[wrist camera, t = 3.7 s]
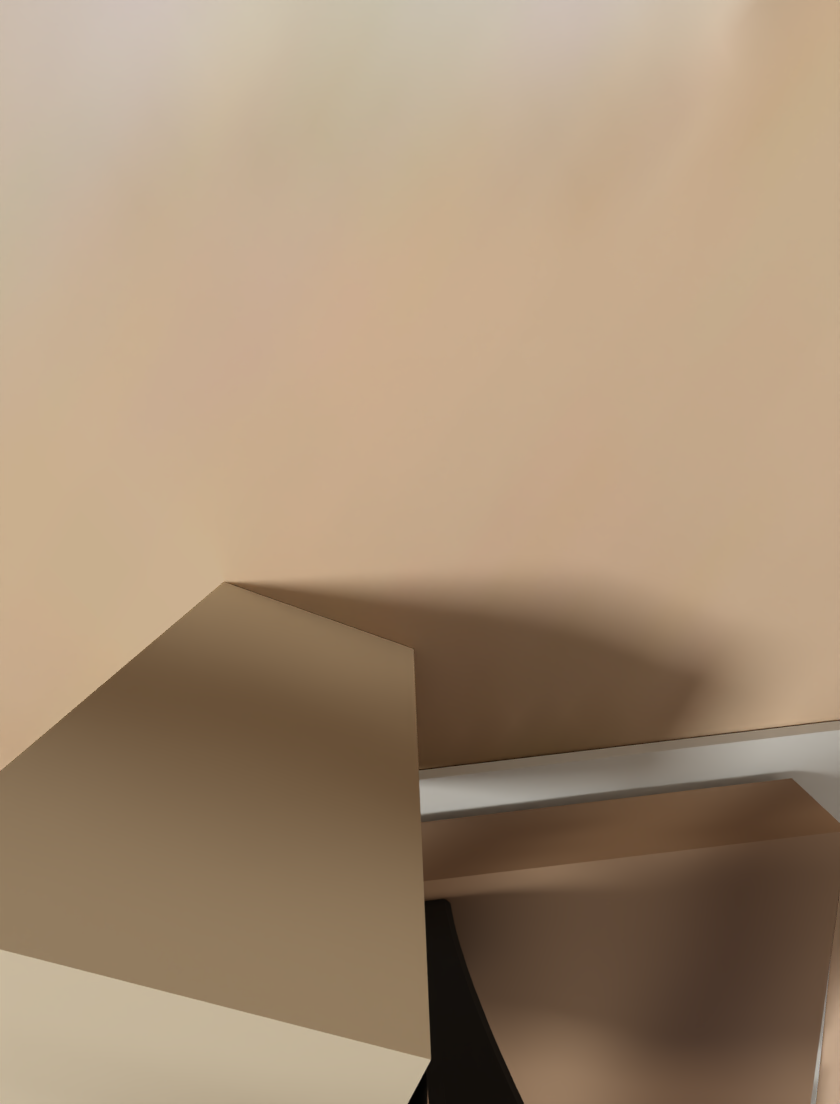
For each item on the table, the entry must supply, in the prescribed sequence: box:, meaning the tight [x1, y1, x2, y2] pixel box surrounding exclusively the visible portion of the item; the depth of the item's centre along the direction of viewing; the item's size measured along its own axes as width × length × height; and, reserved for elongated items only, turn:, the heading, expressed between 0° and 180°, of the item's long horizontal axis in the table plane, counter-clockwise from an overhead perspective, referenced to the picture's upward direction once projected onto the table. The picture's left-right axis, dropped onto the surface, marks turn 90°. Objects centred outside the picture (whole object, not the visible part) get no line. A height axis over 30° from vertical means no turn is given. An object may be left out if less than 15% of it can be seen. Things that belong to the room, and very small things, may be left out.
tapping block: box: [0, 582, 431, 1104], centre depth 7 cm, size 7×4×3 cm
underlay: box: [419, 721, 840, 1104], centre depth 13 cm, size 19×16×1 cm
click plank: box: [421, 778, 840, 1104], centre depth 11 cm, size 16×8×1 cm, turn 96°
